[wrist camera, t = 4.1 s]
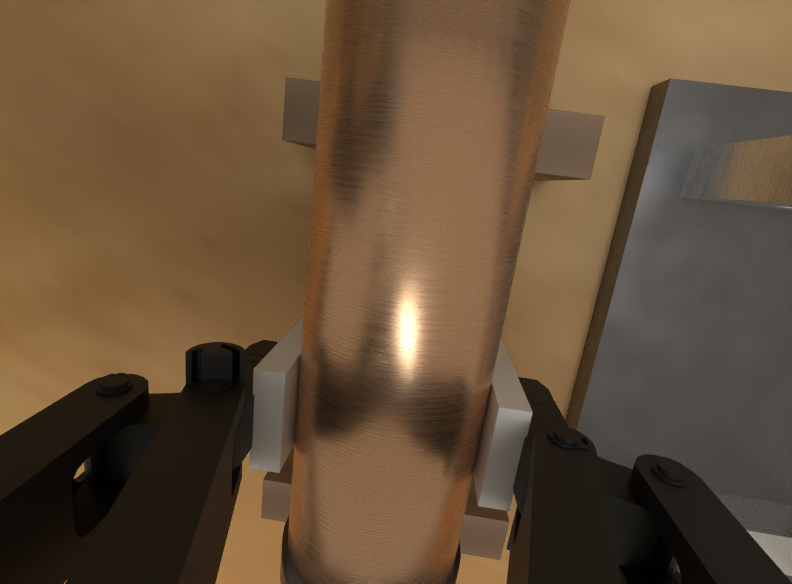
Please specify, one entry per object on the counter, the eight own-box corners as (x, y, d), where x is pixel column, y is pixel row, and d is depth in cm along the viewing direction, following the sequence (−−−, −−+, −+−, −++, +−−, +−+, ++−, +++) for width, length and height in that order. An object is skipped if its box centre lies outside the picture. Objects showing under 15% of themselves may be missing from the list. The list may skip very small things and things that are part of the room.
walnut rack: (328, 107, 20) (286, 77, 14) (554, 135, 20) (604, 116, 14) (301, 439, 25) (261, 517, 19) (484, 470, 24) (500, 560, 18)
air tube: (352, -27, 11) (288, -190, 6) (551, -5, 11) (651, -156, 6) (299, 599, 17) (243, 776, 12) (428, 623, 17) (427, 813, 12)
